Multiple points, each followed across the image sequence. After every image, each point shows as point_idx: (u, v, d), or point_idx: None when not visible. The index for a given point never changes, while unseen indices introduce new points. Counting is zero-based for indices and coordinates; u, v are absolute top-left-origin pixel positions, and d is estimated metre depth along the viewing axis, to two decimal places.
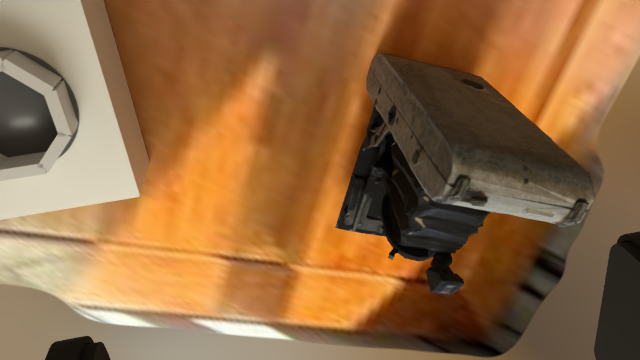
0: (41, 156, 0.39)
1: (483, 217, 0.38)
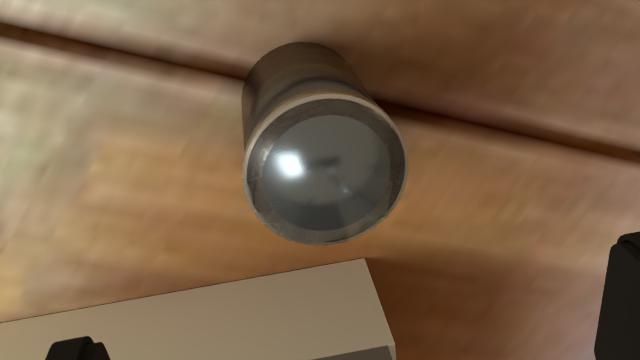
0: None
1: None
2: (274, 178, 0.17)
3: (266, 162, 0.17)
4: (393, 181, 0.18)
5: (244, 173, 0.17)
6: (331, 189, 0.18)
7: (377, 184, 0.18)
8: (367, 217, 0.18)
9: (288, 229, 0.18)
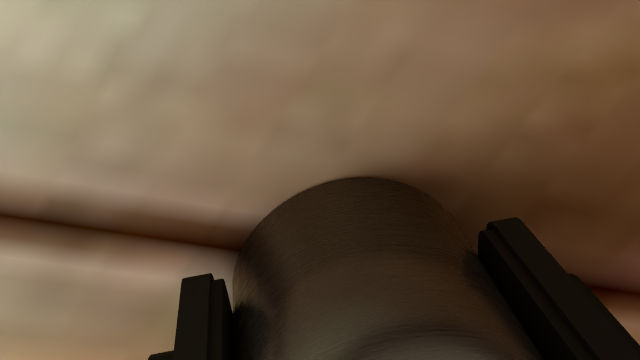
0: None
1: None
2: None
3: None
4: None
5: None
6: None
7: None
8: None
9: None
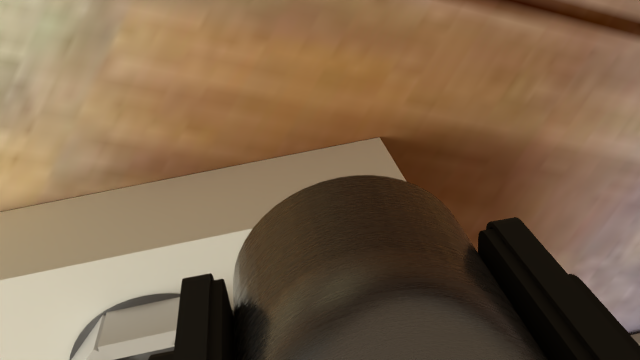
0: None
1: None
2: None
3: None
4: None
5: None
6: None
7: None
8: None
9: None
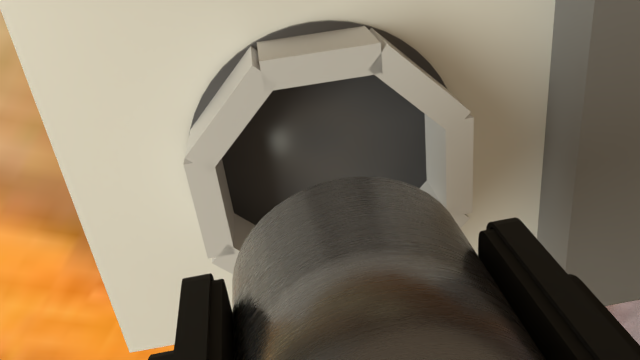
0: (232, 221, 0.17)
1: None
2: None
3: None
4: None
5: None
6: None
7: None
8: None
9: None
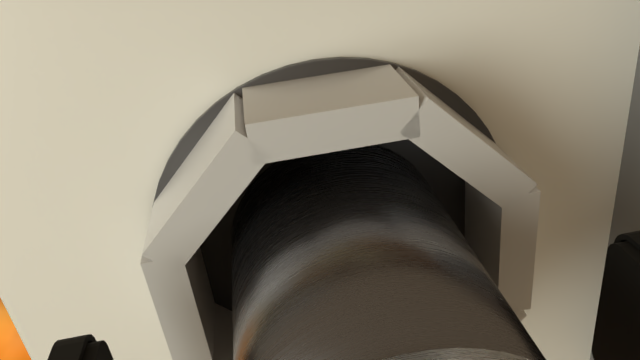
0: (212, 320, 0.13)
1: None
2: None
3: None
4: None
5: None
6: None
7: None
8: None
9: None
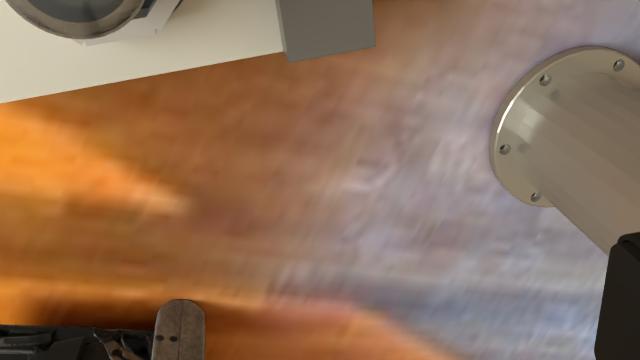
0: None
1: None
2: None
3: None
4: None
5: None
6: None
7: None
8: (121, 9, 0.20)
9: (45, 21, 0.20)
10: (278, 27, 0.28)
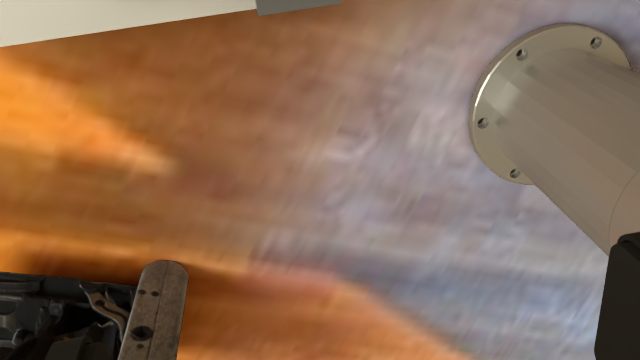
0: None
1: None
2: None
3: None
4: None
5: None
6: None
7: None
8: None
9: None
10: None
